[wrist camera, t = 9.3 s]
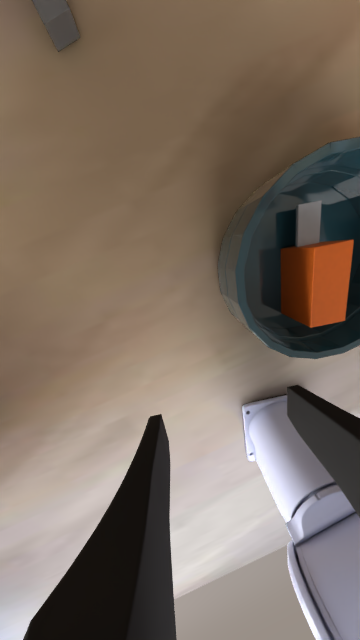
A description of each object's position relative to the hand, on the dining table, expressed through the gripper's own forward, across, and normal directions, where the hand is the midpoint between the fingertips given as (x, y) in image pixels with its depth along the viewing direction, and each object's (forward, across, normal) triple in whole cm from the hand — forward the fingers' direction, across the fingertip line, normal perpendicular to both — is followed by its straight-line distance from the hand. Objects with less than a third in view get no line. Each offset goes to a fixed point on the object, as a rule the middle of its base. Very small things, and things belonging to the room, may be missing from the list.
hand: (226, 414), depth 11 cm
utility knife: (+9, -10, -6) cm, 14 cm away
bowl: (+9, -10, -6) cm, 15 cm away
